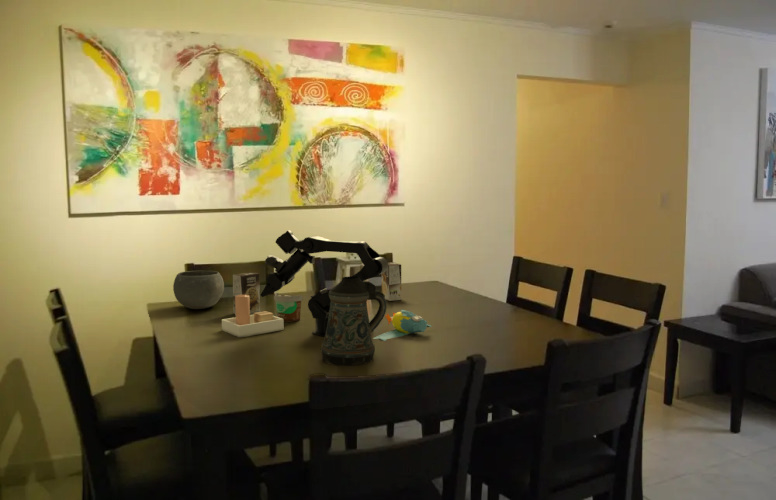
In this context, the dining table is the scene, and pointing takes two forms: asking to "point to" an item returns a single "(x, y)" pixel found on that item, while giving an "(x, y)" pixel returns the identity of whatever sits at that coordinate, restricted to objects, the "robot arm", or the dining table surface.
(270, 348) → the dining table surface
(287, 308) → the food container
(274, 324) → the tote
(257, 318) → the maple block
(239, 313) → the tan upright cylinder
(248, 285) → the coffee box
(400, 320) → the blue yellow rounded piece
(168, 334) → the dining table surface
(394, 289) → the coffee box
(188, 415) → the dining table surface
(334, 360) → the beer stein
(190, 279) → the bowl
